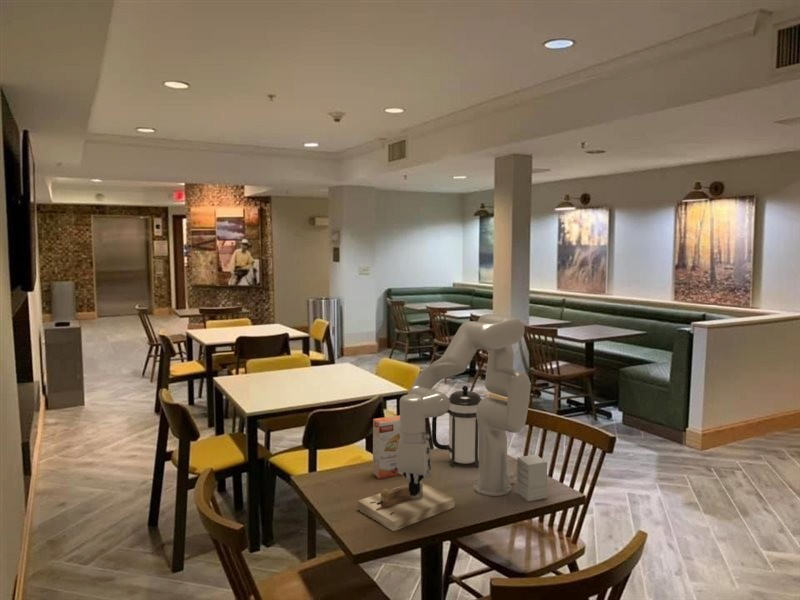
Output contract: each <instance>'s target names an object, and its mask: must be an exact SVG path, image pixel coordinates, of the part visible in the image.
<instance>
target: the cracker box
mask: <svg viewBox="0 0 800 600" xmlns="http://www.w3.org/2000/svg"><path fill="white" fill-rule="evenodd" d="M372 425H373V427H372V474H373V475H374V476H375V477H376V478H377V479H378V480H379V479H385V478H391V477H395V476H403V475H402V474H399V473H398V469H397V448H398V442H399V439H400V438H401V434H400V414H399V415H393V416H385V417H378V418H373V419H372Z"/></svg>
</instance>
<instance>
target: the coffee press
mask: <svg viewBox="0 0 800 600" xmlns="http://www.w3.org/2000/svg"><path fill="white" fill-rule="evenodd" d="M461 389H462V390H457V391H454V392H452V393H451V394H450V395H449V397H448V398H449V400H450V407H449V410H448V411H447V412H446V413H445V414H448V417H449V418H448V444H440V443H439V441H438V439H437V420H438V417H431V418H432V419H431V442H432V444H433V446H434V447H435V448H436V449H439V450H442V451H443V450H444V451H448V457H449V459H450V462H449V467H452V468H454V467H455V466H456V465H457V464H473V466H474V467H475V469H477V468H478V469H479V427H478V421H477V416H476V409H477V405H478V403H479V402H480V401H481V400H482V399H483V398H482V397H481V396H480V394H479V393H477V392H475V391H472V390H469V387H468V385H463V386H462V388H461Z"/></svg>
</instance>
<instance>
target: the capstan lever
mask: <svg viewBox="0 0 800 600" xmlns="http://www.w3.org/2000/svg"><path fill="white" fill-rule="evenodd" d="M423 483H424V482H422V480H421V481H420V492H419V493H418V494H417V495H416V496H413V495H412V496H411V495H410V491H409V483H408V482H407V483H406V484H407V485H406V484H404V485H405V486H403V485H401V486H402V487H400V486H398V487H399V488H397V487H395V488H396V489H394V488H392V490H391V489H388V488H382V489H381V490H380V493H381V502H378V503H377V505H379V504H381V506H382V507H384V508H385V507H388V506H391V505H394V504H397V503H400V502H403V501H405V500H408V499H419V498H421V497H422V496H423Z"/></svg>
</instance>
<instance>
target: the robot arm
mask: <svg viewBox="0 0 800 600" xmlns="http://www.w3.org/2000/svg"><path fill="white" fill-rule="evenodd" d="M524 334H525V325H524V323H523V321H522V320H521V319H520V318H517V317H513V316H505V315H501V314H491V313H490V314H489V313H487V314H483V315H481V316H480V317H479V318H478V320H477V321H474V320H473V321H472V320H471V321H468V320H467V321H464V322H463V323H462V324H461V325H460V326H459V328H458V329H457V331H456V332H455V335H454V336H453V338H452V339H451V341H450V343H449V344H448V346H447V348H446V349H445V351H444V353H443V354H442V355H441V357H440V358H439V359H436V360H435V361H434V362H432V363H431V364H429V365H428V366H427V367H425V368H424V369H423V370H422V371H421V372H419V374H418V375H417V377H416V378H415V380H414V382H413V384H412V385H411V387H410V388H409V391H408V394H404V395H402V396H401V397H400V398H399V415H400V434H401V438H400V439H399V442H398V448H397V469H398V473H399V474H402V475H401V476H404V478H405V479H406V482H407V483H409V491H410V495H411V496H412V495H413V496H416V495H417V494H418V493H419V492H420V481H421V482H422V480H427V479H430V478H431V477H432V474H431V470H432V469H433V459H432V451H431V446H430V442H429V439H430V436H431V435H430V434H429V433H427V430H426V419H427V418H433V417H437V418H438V417H441V416H444V415H445V414H447V413H446V412H447V411H448V410H449V407H450V400H449V397H448V396H447V394H445V393H444V392H441V391H438V390H434V389H433V388H434V387H435V386H436V384H438V383H439V382H440V381H442V380H444V379H446V378H450V377H454V376H457V375H459V374H462V373H464V372H465V371H466V370H467V369H468V366H470V363H471V361H472V360H473V358H474V356H475V354H476V353H477V351H478V350H484V351H488V357H487V362H486V363H487V365H486V373H485V380H484V385H485V389H486V390H487V391H488V392H489V393H492V394H494V395H498V396H501V397H505V398H507V400H504V399H500V398H497V397H491V396H490V397H489V396H488V397H484V398H481V399H482V400H481V401H480V402H479V403H478V405H477V409H476V416H477V421H478V427H479V460H478V461H479V467H478V478H477V479H478V480H476V481H475V482H474V483H473V489H474V490H475V491H476V492H477V493H479V494H481V495H484V496H489V497H491V496H492V497H500V496H504V495H508V494H509V493H511V490H512V485H511V484H510V483H509V481H510V480H512V479H514V478H515V477H516V475H515V473H514V472H512V471H511V472H509V473H508V472H507V471H508V470H507V469H508V437H507V432H508V433H511V434H517V433H519V432H521V431H522V430H523V428H524V427H525V425H526V421H527V416H528V410H529V403H530V398H531V397H530V395H531V386H532V385H531V381H530V377H529V376H528V374H527V373H525V372H524V371H521V370H520V369H519V370H518V369H515V368H513V367H514V358H515V357H514V355H515V353H514V348H513V345H515V344H517V343H519V342H520V341H521V340H522V339H523V338H524V336H525V335H524Z"/></svg>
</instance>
